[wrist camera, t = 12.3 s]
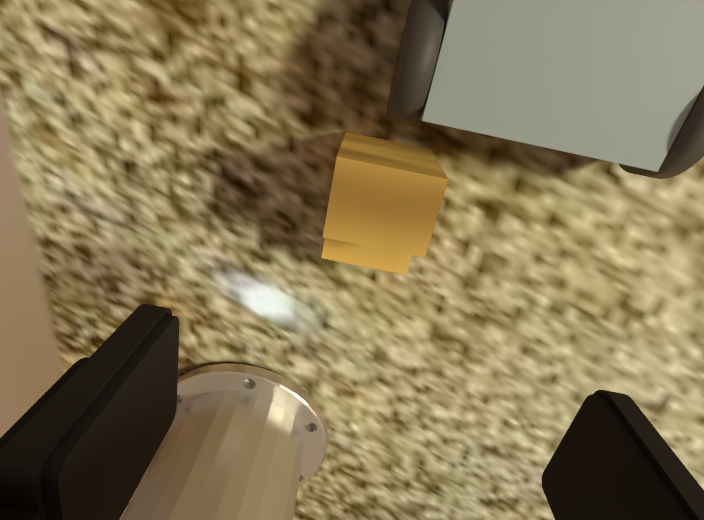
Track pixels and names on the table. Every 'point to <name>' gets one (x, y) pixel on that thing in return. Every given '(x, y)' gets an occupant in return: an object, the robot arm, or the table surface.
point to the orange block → (382, 203)
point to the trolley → (561, 76)
